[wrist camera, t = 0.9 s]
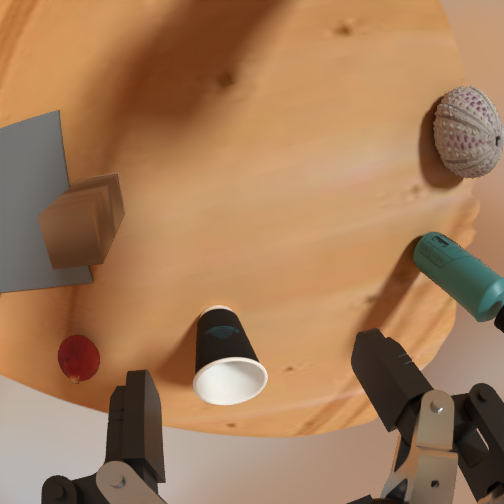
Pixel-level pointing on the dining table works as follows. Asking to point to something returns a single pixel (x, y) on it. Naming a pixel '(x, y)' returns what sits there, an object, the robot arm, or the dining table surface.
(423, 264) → the beverage bottle
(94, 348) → the onion
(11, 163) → the grey flat slab
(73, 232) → the cardboard box
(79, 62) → the dining table surface
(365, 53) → the dining table surface
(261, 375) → the dixie cup
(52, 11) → the dining table surface
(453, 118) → the sea urchin shell
